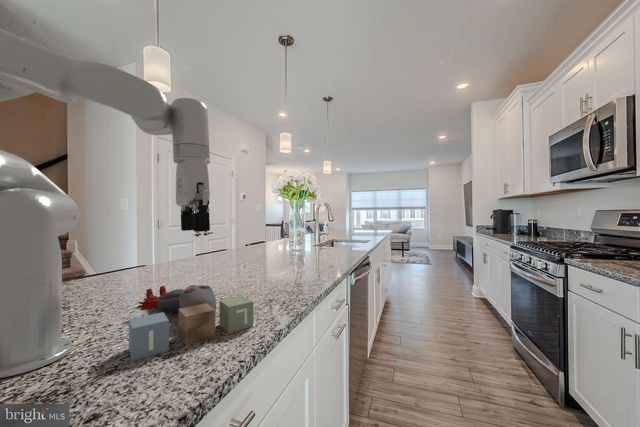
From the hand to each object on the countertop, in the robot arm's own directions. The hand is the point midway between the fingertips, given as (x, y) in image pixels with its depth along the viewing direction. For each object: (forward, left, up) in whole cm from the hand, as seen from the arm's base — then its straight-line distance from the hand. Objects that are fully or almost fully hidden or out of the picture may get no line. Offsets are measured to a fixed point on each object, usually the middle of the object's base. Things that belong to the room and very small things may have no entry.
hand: (195, 230), depth 61 cm
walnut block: (0, -2, -23) cm, 23 cm away
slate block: (-9, -2, -23) cm, 25 cm away
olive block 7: (+9, -2, -23) cm, 25 cm away
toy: (0, +17, -24) cm, 29 cm away
